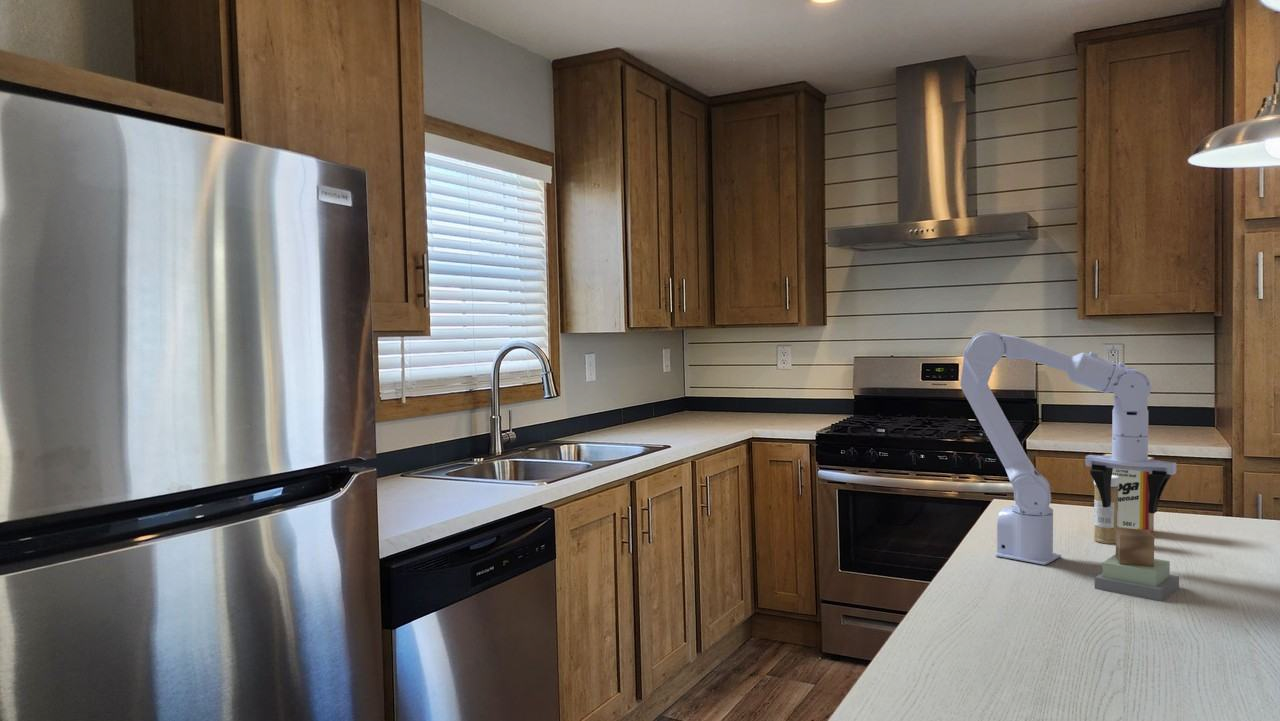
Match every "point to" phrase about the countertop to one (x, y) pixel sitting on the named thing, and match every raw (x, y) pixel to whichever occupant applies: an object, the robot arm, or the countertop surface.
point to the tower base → (1139, 587)
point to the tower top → (1136, 572)
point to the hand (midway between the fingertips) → (1129, 509)
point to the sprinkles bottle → (1106, 515)
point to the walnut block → (1135, 547)
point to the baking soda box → (1133, 499)
